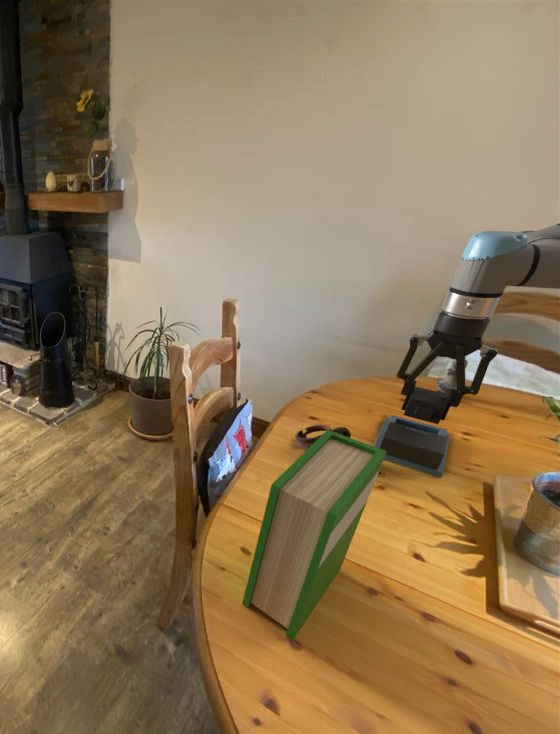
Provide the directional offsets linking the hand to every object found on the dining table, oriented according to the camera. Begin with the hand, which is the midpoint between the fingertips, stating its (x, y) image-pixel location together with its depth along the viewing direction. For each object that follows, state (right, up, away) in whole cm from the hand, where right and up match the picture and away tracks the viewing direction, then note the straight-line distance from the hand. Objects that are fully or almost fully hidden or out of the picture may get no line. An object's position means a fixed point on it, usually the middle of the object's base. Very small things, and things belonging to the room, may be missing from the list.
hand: (422, 412), depth 93 cm
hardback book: (-45, -26, -27) cm, 59 cm away
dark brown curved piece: (-22, -10, +1) cm, 24 cm away
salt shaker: (+24, +3, +20) cm, 31 cm away
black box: (0, 0, 0) cm, 0 cm away
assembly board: (-2, -8, +1) cm, 8 cm away
